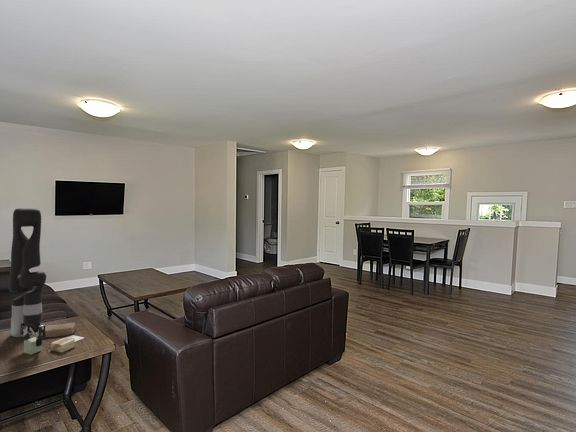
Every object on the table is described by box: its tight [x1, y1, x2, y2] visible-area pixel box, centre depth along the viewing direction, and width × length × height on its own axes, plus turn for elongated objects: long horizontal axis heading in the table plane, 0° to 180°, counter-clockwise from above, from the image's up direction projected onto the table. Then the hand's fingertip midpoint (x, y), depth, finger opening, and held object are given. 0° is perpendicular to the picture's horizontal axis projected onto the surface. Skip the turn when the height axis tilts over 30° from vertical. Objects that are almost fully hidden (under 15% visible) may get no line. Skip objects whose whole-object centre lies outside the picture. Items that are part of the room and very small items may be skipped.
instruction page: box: [65, 334, 85, 343], centre depth 180 cm, size 9×9×1 cm
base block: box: [50, 337, 76, 353], centre depth 170 cm, size 7×7×4 cm
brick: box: [38, 322, 77, 339], centre depth 188 cm, size 16×8×5 cm, turn 113°
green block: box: [23, 336, 43, 355], centre depth 165 cm, size 5×5×6 cm
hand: (32, 344), depth 165 cm, fingers open, 8 cm apart
